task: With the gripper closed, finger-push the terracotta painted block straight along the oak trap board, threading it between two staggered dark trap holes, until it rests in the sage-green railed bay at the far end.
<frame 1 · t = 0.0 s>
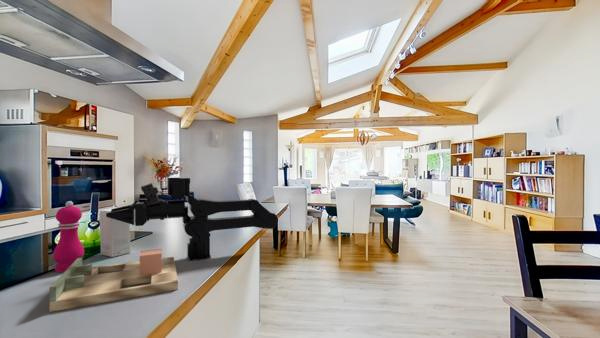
hand: (108, 212, 83), 17 cm above the counter, tool horizontal, fingers open, 9 cm apart
skincare box: (114, 254, 98), on the counter
block: (151, 270, 75), point 2 cm above the counter, touching trap board
pepper mill: (68, 269, 83), on the counter
trap board: (124, 282, 72), on the counter
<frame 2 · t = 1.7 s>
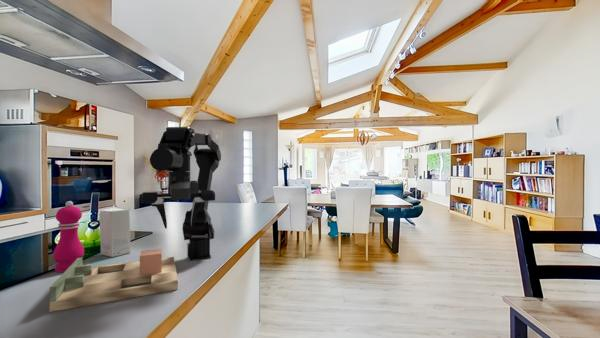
hand: (179, 227, 78), 13 cm above the counter, tool pointing down, fingers open, 6 cm apart
nothing on the counter moved.
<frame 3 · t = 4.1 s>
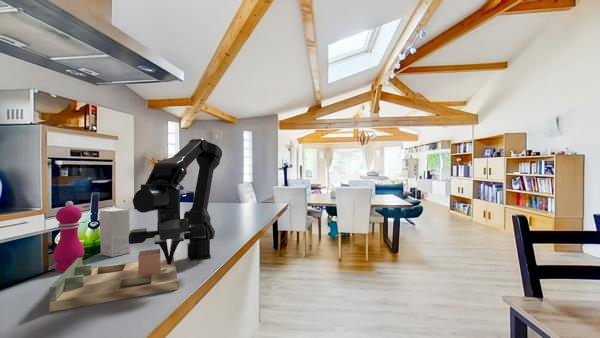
hand: (169, 264, 77), 3 cm above the counter, tool pointing down, fingers closed
block: (149, 270, 75), point 2 cm above the counter, touching gripper
everything else where it was.
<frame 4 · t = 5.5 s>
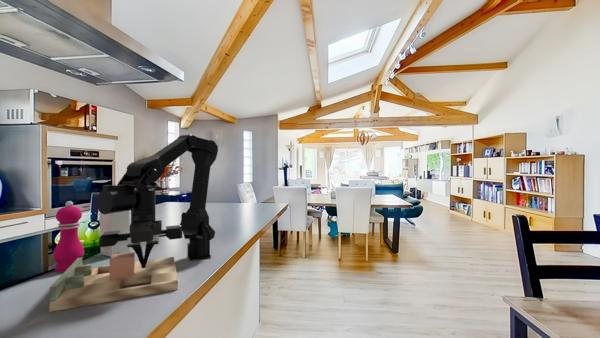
hand: (143, 267, 74), 3 cm above the counter, tool pointing down, fingers closed
block: (122, 275, 72), point 2 cm above the counter, touching gripper, trap board
everything else where it was.
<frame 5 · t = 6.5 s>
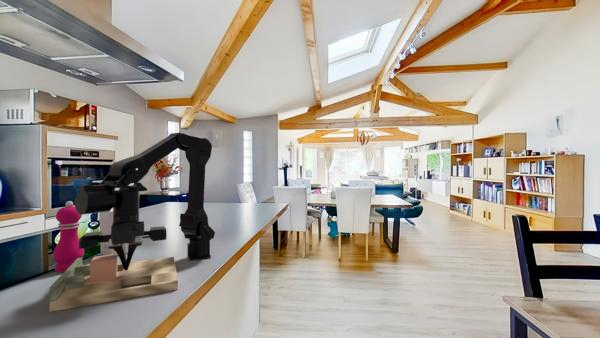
hand: (126, 269, 72), 3 cm above the counter, tool pointing down, fingers closed
block: (104, 277, 70), point 2 cm above the counter, touching gripper, trap board
everything else where it was.
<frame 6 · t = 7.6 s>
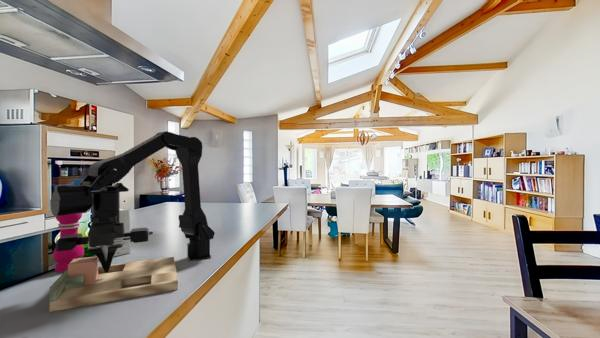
hand: (106, 272, 70), 3 cm above the counter, tool pointing down, fingers closed
block: (83, 280, 68), point 2 cm above the counter, touching gripper, trap board
everything else where it was.
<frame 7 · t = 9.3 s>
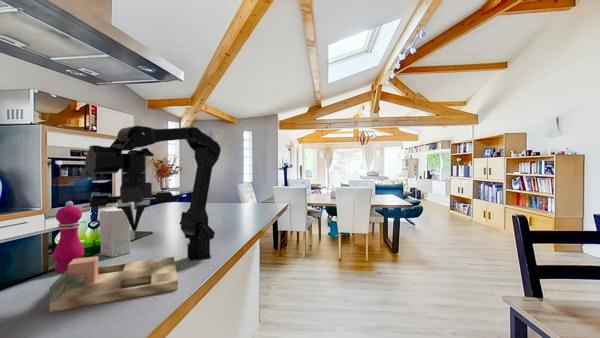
hand: (134, 230, 76), 13 cm above the counter, tool pointing down, fingers closed
block: (83, 280, 68), point 2 cm above the counter, touching trap board
everything else where it was.
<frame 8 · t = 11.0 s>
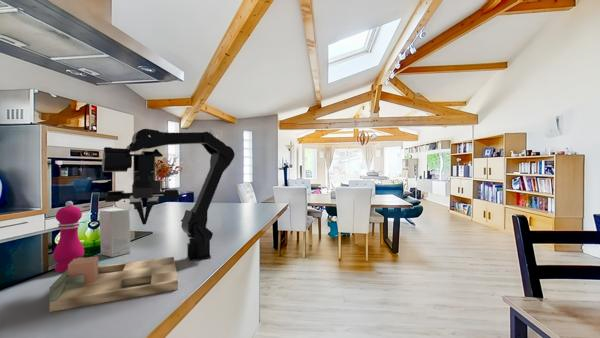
hand: (144, 224, 83), 13 cm above the counter, tool pointing down, fingers closed
nothing on the counter moved.
at the end: block 0.4 cm from the target spot on the trap board, point 2.0 cm above the trap board's base; block tilted 0° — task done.
